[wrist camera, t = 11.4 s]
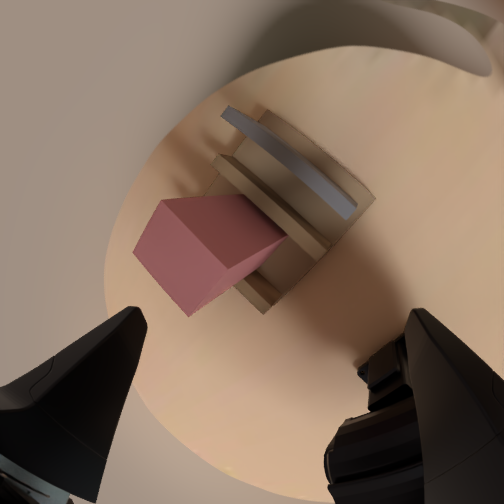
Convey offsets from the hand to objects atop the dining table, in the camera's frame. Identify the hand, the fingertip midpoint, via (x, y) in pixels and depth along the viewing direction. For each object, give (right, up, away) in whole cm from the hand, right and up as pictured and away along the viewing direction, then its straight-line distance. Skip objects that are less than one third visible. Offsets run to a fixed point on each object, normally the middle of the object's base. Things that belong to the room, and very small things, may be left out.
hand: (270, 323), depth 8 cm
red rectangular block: (0, +4, +13) cm, 14 cm away
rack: (+1, +6, +13) cm, 14 cm away
